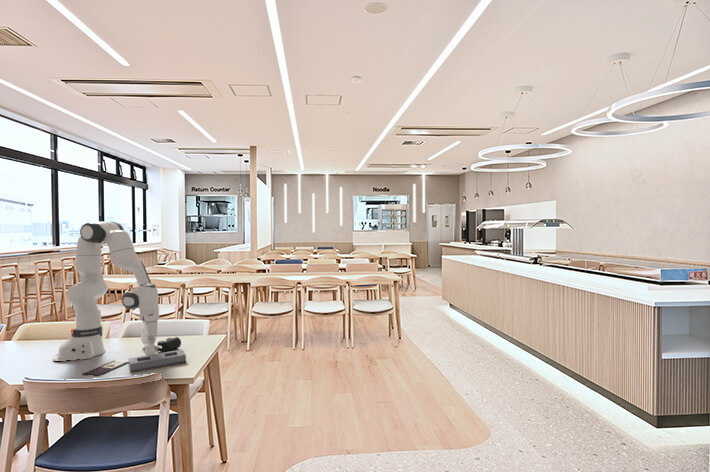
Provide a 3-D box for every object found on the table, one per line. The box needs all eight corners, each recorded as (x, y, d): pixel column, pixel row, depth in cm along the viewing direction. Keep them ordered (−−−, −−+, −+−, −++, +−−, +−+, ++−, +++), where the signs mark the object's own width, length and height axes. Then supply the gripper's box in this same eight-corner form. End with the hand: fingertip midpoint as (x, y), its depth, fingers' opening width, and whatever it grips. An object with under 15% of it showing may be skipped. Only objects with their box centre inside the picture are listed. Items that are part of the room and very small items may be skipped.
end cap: (167, 355, 207) (167, 342, 207) (156, 354, 209) (156, 341, 209) (181, 349, 217) (181, 337, 217) (171, 348, 219) (170, 336, 219)
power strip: (130, 372, 182) (130, 364, 182) (128, 366, 190) (128, 358, 190) (186, 362, 195) (185, 354, 195) (182, 357, 204) (182, 349, 203)
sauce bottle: (138, 347, 220) (137, 315, 219) (148, 343, 227) (147, 312, 227) (149, 348, 218) (149, 316, 218) (160, 344, 226) (159, 313, 225)
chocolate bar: (82, 373, 180) (114, 360, 198) (82, 375, 180) (114, 362, 198) (98, 375, 178) (129, 361, 196) (98, 377, 178) (129, 363, 196)
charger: (145, 359, 201) (145, 345, 200) (145, 357, 204) (144, 343, 204) (154, 357, 203) (154, 344, 203) (153, 355, 206) (153, 342, 206)
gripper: (140, 312, 210) (141, 338, 210) (144, 319, 193) (146, 347, 193) (153, 311, 213) (154, 336, 213) (159, 317, 196) (160, 345, 196)
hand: (150, 341), depth 203 cm, fingers open, 8 cm apart
